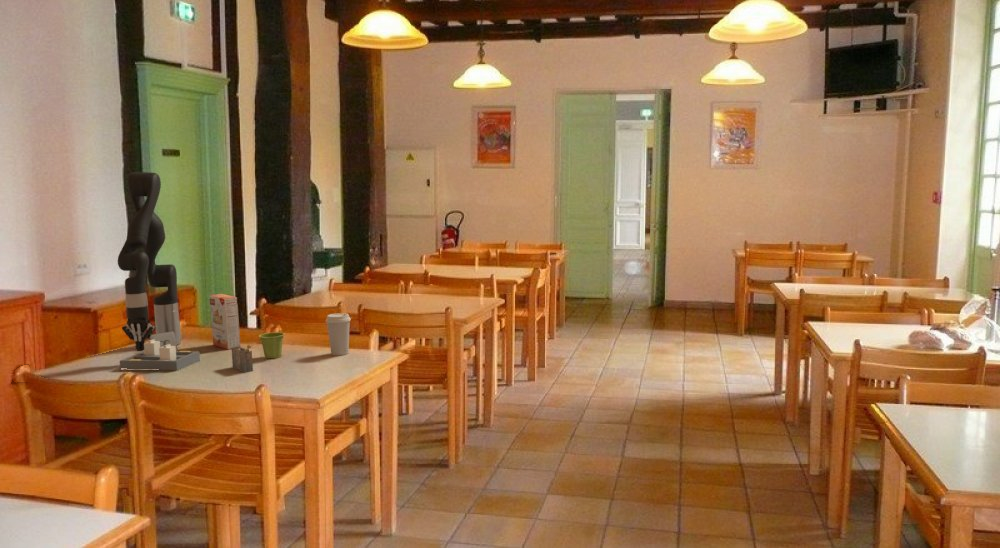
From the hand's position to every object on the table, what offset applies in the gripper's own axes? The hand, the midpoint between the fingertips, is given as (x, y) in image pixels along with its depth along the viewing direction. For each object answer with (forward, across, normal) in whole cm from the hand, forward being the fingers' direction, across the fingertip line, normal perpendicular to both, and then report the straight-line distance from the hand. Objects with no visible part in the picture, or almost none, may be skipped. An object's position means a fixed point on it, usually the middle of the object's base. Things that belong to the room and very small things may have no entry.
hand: (140, 350), depth 309 cm
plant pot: (+5, -47, -11) cm, 49 cm away
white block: (+3, -5, 0) cm, 6 cm away
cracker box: (+5, -19, -29) cm, 35 cm away
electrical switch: (+5, -2, -11) cm, 12 cm away
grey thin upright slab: (+5, -44, +8) cm, 45 cm away
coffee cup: (+5, -71, -19) cm, 74 cm away
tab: (+3, -16, +8) cm, 18 cm away
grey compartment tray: (+4, -10, +4) cm, 12 cm away
